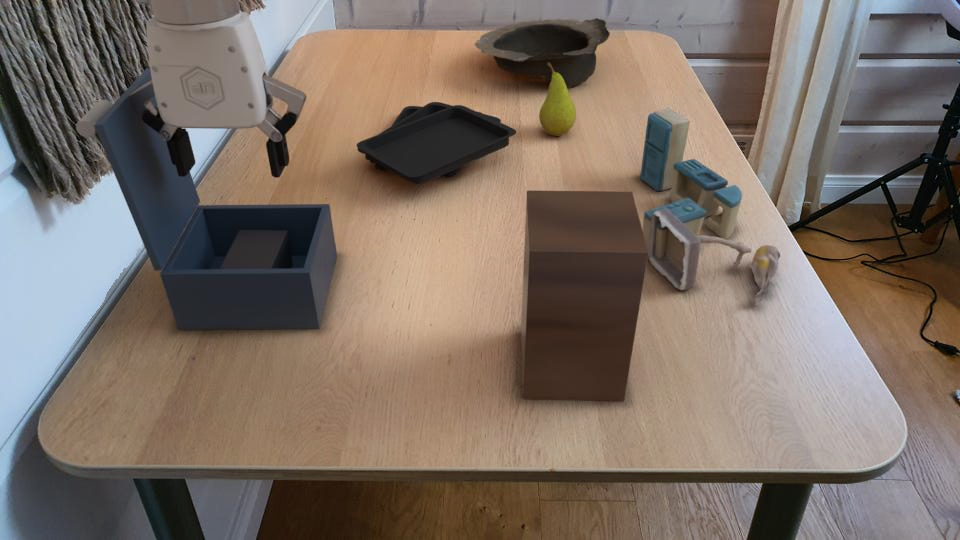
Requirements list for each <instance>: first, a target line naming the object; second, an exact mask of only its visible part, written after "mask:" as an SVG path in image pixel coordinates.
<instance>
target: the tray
mask: <svg viewBox="0 0 960 540" xmlns="http://www.w3.org/2000/svg"><path fill="white" fill-rule="evenodd" d="M516 134H517V130H516V129H515V128H513V127H511V126H509V125H507V124H504V123H503V122H502V120H501V118H499V117H497V116H493V115H489V114H487V113H483V112H482V111H481V112H480V111H478V110H477V111H476V110H474V109H472V108H470V107H467V106H465V105H462V104H455V105H452V104H447V103H445V102H439V101H432V102H429V103H426V104H425V105H423V106H421V105H408V106H405V107H404V108H402V109H401V111H400V113H399V114H398V116H397V117H396V119H395V120H394V122H393V123H392V124H391V126H389V127H388V128H386V129H385V130H382V132H380V133H377V134H376V135H372V136H371V137H368V138H366V139H363V140H360V141H359V142H357V143H356V148H357V152H358V153H361V154H364V158H365V160H366V161H368V162H369V163H371V164H374V167H375V170H378V171H381V172H391V173H393V174H394V175H396V176H398V177H399V178H401V179H403V180H404V181H406V182H408V183H410V184H412V185H419V186H420V185H423V184H426V183H429V182H430V181H433V180H435V179H437V178H454V177H456V176H457V175H458V173H459V171H460V169H461V168H462V167H464V166H466V165H468V164H471V163H473V162H475V161H477V160H480V159H481V158H484V157H486V156H488V155H490V154H493V153H495V152H497V151H499V150H501V149H504V148H506V147H508V146H509V145H510V138H511V137H513V136H515V135H516Z"/></svg>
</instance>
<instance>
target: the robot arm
mask: <svg viewBox="0 0 960 540" xmlns="http://www.w3.org/2000/svg"><path fill="white" fill-rule="evenodd" d="M135 2H136V4H137V5H145V6H147V7H149V10H150V15H151V16H153V17H151V18H150V19H148V20H147V21H146V22H145V23H146V25H145V27H146V43H147V55H148V63H149V68H150V71H151V77H152V80H151V81H150V82H148V83H146V84H144V85H143V86H141V87H139V88H137V89H136V90H134V91H133V92H132V93H131V94H130V95H129V99H130V102H131V105H132V107H133V108H134V109H135V110H136V111H137V113H138V114H140V115H141V116H142V120H143V122H144V123H146V124H147V125H148V126H150V127H151V128H152V129H154V130H155V131H156V132H158V133H159V137H160V138H161V139H162V140H164V141H166V143H167V146H168V150H169V154H170V157H171V161H172V164H173V165H176V169H177V172H178V175H179V176H181V177H185V176H186V175H187V174H188V173H189V172H190V173H191V171H192V169H193V168H194V166H195V165H196V159H195V158H196V157H195V154H194V151H193V146H192V143H191V139H190V138H191V137H190V134H189V132H188V130H187V129H211V130H213V129H214V130H215V129H219V130H221V129H223V130H224V129H227V130H229V129H231V130H234V129H235V130H236V129H237V130H239V129H241V130H242V129H243V130H244V129H245V130H246V129H253V128H256V127H257V128H258V129H259V130H260V131H261V132H262V133H263V134H265V135H266V137H268V139H267V141H266V143H265V148H266V153H267V158H268V163H269V169H270V174H271V177H273V178H278V179H279V178H281V175H282V174H283V172H284V170H285V168H286V167H288V166H289V164H290V154H289V153H290V152H289V148H288V147H289V146H288V142H287V141H288V140H287V136H286V135H287V133H289V132H290V130H291V129H292V128H293V127H294V126H295V125H296V123H297V121H298V120H299V118H300V115H301V113H302V110H303V108H304V105H305V103H306V100H307V95H306V93H305V92H304V91H302V90H300V89H298V88H296V87H293V86H291V85H290V84H287V83H285V82H283V81H281V80H278V79H277V78H274V77H273V76H270V75H269V73H268V72H269V71H268V68H267V63H266V61H265V57H264V54H263V50H262V47H261V44H260V41H259V38H258V35H257V33H256V30H255V27H254V25H253V22H252V20H251V18H250V15H249V14H248V12H247V11H242V9H241V6H240V5H241V4H240V0H135ZM154 96H155V98H156V102H157V106H158V109H157V108H156V107H154V106H153V104H152V103H151V101H150V98H152V97H154ZM274 98H276V99H278V100H280V101H282V102H284V103H286V105H287V109H286V112H285V113H284V114H283V115H282V116H281V115H280V114H279V113H278V112H277V111H276V110H275V108H273V105H274Z"/></svg>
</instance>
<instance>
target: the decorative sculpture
mask: <svg viewBox="0 0 960 540" xmlns="http://www.w3.org/2000/svg"><path fill="white" fill-rule="evenodd" d="M660 221H661V226H662V228H663V227H665V226H667V227H668V235H667V244H666V251H665V254H664V257H662V258H658V257H657V256H656V255H655V250H656V232H657V223H658V222H660ZM712 243H713V244H720V245H724V246H727V247H729V248H731V249H734V250H736V252H738V254H737V256H736V259H735V261H733V263H732V270H734V271H735V270H737V268H738V267H739V265H741V262H742V259H743V256H744V255H745V254H749V253H750V254H751V253H752V248H750V247H748V246H747V245H746V244H744V243H743V242H742V241H736V240H731V239H723V238H721V237H720V236H710V235H703V234H699V235H698V236H696V235H695V234H694V233H693V232H692V231H691V230H690V229H689V228H688V227H687V226H686V225H684V224H683V223H682V222H681V221H680V220H679V219H678V218H677V217H676V216H675V215H674V214H673V213H671V212H670V211H669V210H668V209H660V210H657V211H655V212H654V213H653V215H652V219H651V224H650V233H649V250H648V259H649V262H650V264H651V266H652V267H654V270H655V271H656V270H657V271H658V272H659V274H661V276H664V277H666V279H667V280H668V281H669V282H670V283H671V284H672V285H673V286H674V288H676V290H680V291H686V290H688V289H691V288H693V287H694V286H695V284H696V279H697V273H698V267H699V259H700V251H701V244H712ZM780 257H781V253H780V251H779V249H778V248H777V247H776V246H774V245H769V244H766V245H765V244H764V245H761V246H760V247H759V248H757V249H756V251H755V253H754V255H753V258H752V261H751V263H750V264H749V265H748V268H749V269H751V270H752V273H753V276H754V277H753V278H754V281H755V284H756V285H757V288H758V289H759V291H758V292H756V294H755V296H754V301H755V302H754V303H755V304H754V305H755V306H758V304H760V302H761V301H762V300H763V298H764V297H765V296H766V295H767V294H769V288H770V285H771V280H772V279H773V277H774V276H775V274H776V273H777V271H778V267H779V259H780Z"/></svg>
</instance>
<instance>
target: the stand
mask: <svg viewBox="0 0 960 540" xmlns="http://www.w3.org/2000/svg"><path fill="white" fill-rule="evenodd" d="M525 200H526V202H525V223H524V224H525V225H524V248H523V249H524V250H523V273H522V274H523V275H522V299H521V300H522V301H521V304H522V305H521V321H520V323H521V324H520V326H521V327H520V342H521V343H520V344H521V345H520V347H521V382H522V383H521V384H522V385H521V386H522V399H523V400H550V401H551V400H553V401H555V400H557V401H558V400H559V401H607V402H608V401H610V402H612V401H613V402H625V399H626V392H627V385H628V381H629V374H630V368H631V361H632V355H633V349H634V343H635V339H636V338H635V337H636V330H637V324H638V319H639V313H640V307H641V301H642V295H643V288H644V283H645V278H646V277H645V275H646V270H647V264H648V259H649V257H648V249H647V245H646V242H645V238H644V234H643V226H642V223H641V220H640V216H639V212H638V208H637V204H636V201H635V197H634V193H633V191H617V190H616V191H615V190H614V191H613V190H612V191H610V190H608V191H606V190H605V191H604V190H529V189H528V190H526V197H525Z"/></svg>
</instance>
